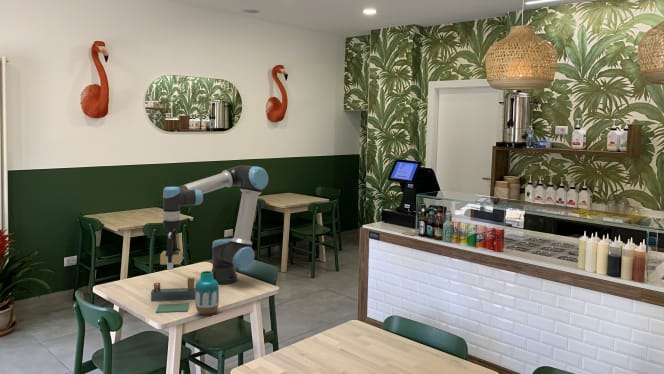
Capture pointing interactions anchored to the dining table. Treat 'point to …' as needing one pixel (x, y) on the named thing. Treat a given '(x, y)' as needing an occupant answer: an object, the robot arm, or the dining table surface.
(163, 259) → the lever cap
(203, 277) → the vase
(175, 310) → the felt pad
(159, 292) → the knobbed metal bar
